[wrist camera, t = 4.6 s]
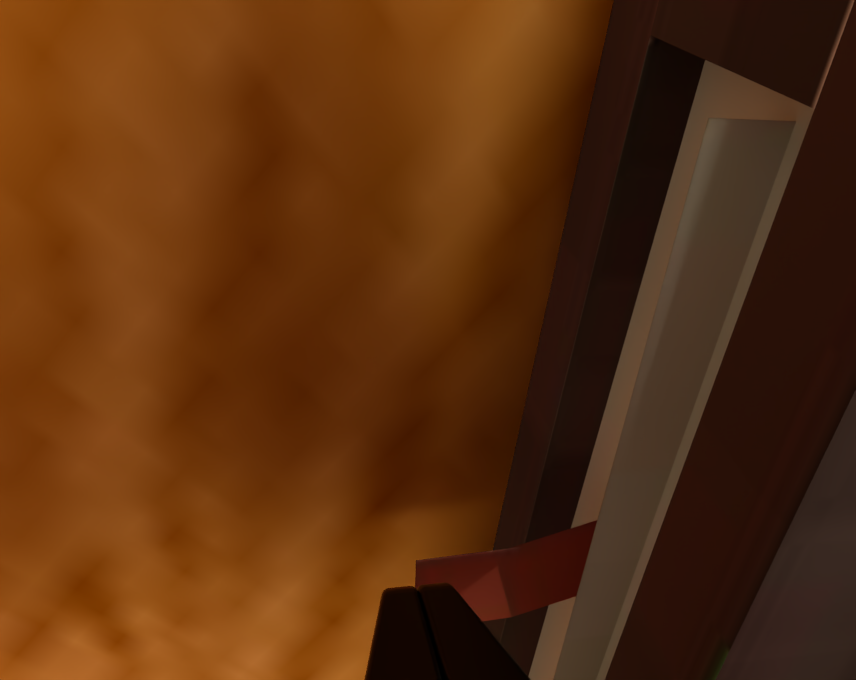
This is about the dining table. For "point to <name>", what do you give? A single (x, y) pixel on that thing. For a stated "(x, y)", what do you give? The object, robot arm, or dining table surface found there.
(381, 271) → the dining table surface
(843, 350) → the decorative book
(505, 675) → the robot arm
